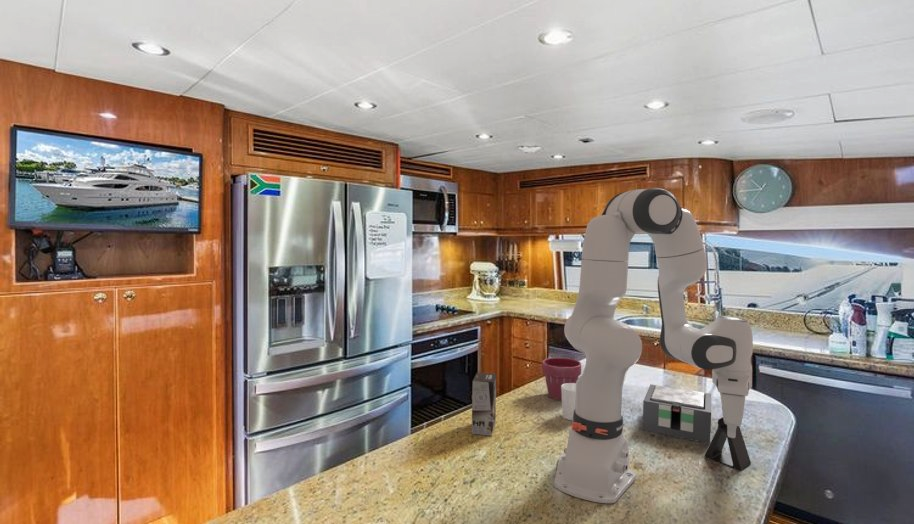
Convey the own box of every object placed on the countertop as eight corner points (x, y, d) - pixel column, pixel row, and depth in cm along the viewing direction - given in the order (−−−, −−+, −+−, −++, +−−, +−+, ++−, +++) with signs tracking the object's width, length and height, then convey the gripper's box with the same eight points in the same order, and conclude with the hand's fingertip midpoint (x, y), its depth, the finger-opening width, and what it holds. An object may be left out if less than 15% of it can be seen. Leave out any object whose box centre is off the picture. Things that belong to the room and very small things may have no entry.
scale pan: (703, 414, 128) (703, 410, 128) (650, 404, 135) (650, 400, 135) (704, 396, 143) (704, 392, 143) (656, 388, 150) (656, 384, 150)
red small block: (678, 411, 132) (678, 409, 132) (672, 410, 132) (672, 408, 132) (679, 409, 133) (679, 407, 133) (673, 408, 134) (673, 406, 134)
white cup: (586, 422, 142) (587, 391, 142) (560, 420, 144) (561, 389, 143) (584, 413, 150) (585, 383, 150) (560, 411, 152) (560, 382, 151)
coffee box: (492, 436, 132) (493, 382, 131) (471, 434, 134) (471, 380, 133) (496, 423, 141) (497, 373, 140) (475, 421, 143) (476, 371, 142)
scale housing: (710, 444, 128) (711, 413, 128) (642, 430, 137) (643, 401, 137) (710, 421, 144) (711, 393, 144) (649, 410, 153) (650, 384, 153)
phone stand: (751, 464, 117) (753, 419, 117) (740, 471, 114) (743, 424, 113) (714, 450, 124) (716, 408, 124) (704, 457, 121) (705, 413, 120)
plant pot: (543, 388, 175) (544, 355, 174) (580, 391, 171) (581, 358, 171) (539, 400, 161) (540, 365, 161) (580, 405, 158) (581, 369, 157)
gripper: (717, 366, 128) (716, 413, 129) (718, 387, 111) (717, 442, 111) (743, 369, 125) (742, 417, 126) (748, 391, 108) (747, 448, 108)
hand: (730, 429), depth 119 cm, fingers open, 8 cm apart
